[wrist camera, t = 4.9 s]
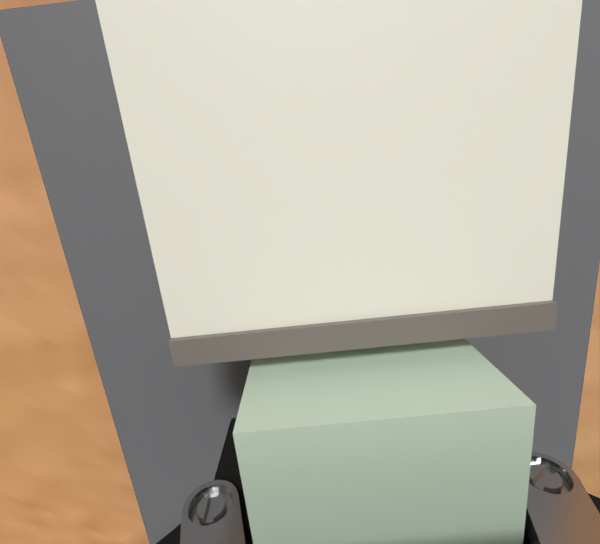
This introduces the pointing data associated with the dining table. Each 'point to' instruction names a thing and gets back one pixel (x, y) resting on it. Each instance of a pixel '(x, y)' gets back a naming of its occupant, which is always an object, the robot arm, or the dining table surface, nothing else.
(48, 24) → the grey base plate
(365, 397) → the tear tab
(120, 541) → the dining table surface
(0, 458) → the dining table surface
